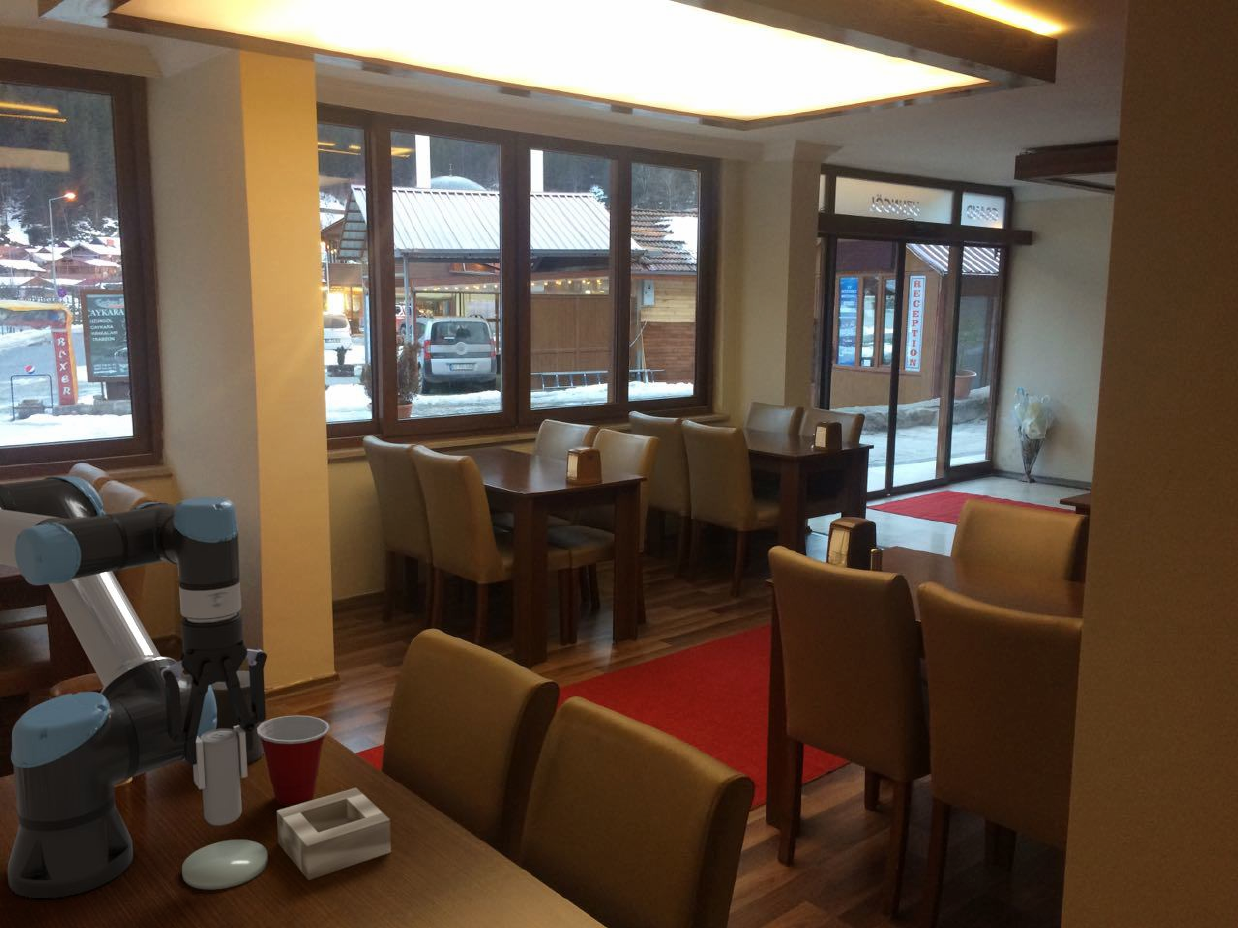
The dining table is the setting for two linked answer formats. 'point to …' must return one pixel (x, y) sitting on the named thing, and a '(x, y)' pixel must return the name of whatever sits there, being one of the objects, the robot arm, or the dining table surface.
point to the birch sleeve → (333, 832)
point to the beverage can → (221, 777)
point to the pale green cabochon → (224, 864)
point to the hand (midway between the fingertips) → (220, 778)
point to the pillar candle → (228, 714)
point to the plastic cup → (293, 755)
